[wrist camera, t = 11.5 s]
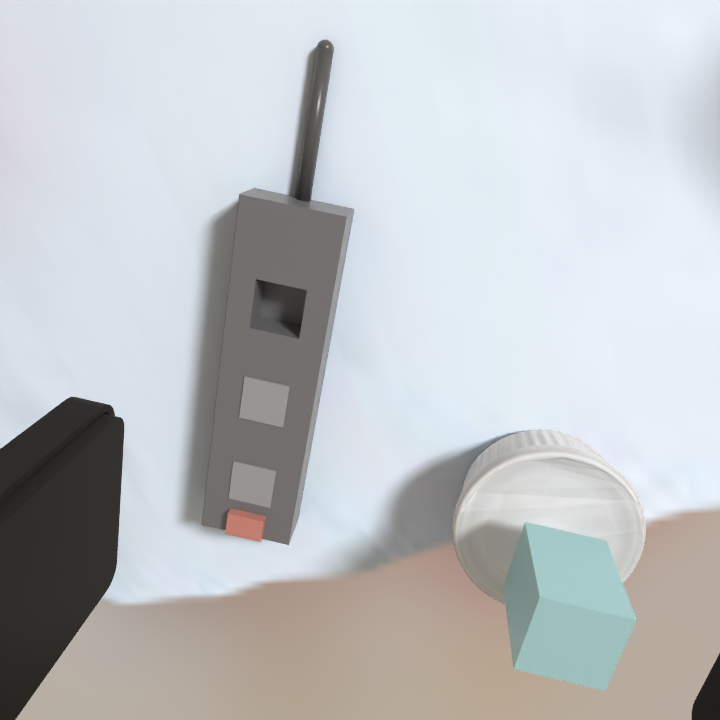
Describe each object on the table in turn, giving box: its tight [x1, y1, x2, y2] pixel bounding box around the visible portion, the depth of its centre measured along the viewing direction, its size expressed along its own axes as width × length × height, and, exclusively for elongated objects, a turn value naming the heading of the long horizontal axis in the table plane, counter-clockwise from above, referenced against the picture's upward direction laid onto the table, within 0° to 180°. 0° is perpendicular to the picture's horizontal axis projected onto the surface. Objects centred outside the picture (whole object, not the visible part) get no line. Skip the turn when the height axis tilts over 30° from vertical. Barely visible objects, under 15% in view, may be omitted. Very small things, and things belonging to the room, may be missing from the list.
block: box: [503, 522, 636, 691], centre depth 34 cm, size 4×4×8 cm
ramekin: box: [452, 430, 646, 604], centre depth 40 cm, size 11×11×5 cm
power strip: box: [202, 40, 354, 545], centre depth 39 cm, size 30×6×4 cm, turn 169°
